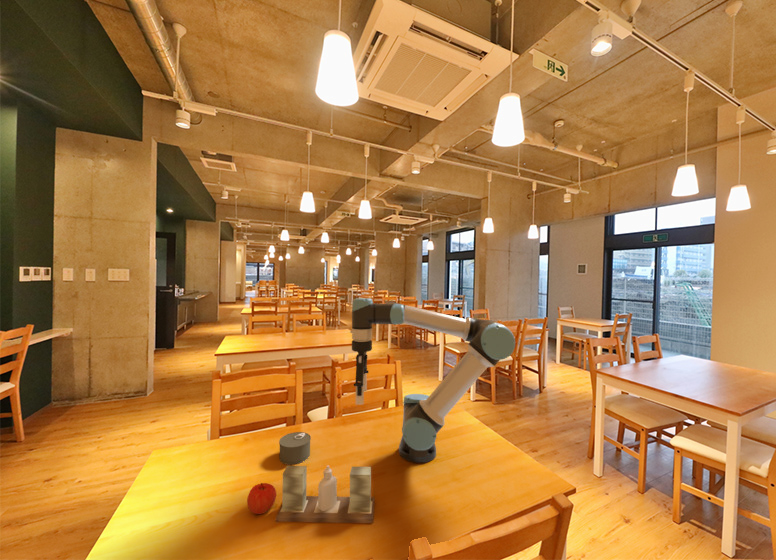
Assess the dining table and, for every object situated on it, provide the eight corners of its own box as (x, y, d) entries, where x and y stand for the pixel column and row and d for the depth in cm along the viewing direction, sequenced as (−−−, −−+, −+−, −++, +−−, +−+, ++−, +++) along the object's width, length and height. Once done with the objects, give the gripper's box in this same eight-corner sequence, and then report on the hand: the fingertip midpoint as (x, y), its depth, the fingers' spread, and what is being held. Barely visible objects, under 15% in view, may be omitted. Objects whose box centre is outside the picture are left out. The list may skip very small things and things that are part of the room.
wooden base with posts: (374, 501, 97) (374, 462, 97) (372, 523, 88) (373, 480, 88) (286, 499, 98) (286, 460, 98) (275, 521, 89) (276, 478, 89)
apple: (241, 519, 89) (242, 491, 90) (255, 499, 97) (255, 474, 98) (268, 520, 89) (269, 492, 89) (279, 501, 97) (280, 475, 97)
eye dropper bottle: (317, 502, 94) (317, 463, 95) (335, 499, 96) (336, 460, 96) (318, 512, 90) (319, 471, 90) (337, 508, 92) (338, 468, 92)
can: (272, 461, 119) (272, 443, 119) (292, 446, 130) (293, 429, 130) (297, 468, 114) (297, 449, 114) (316, 452, 126) (316, 435, 126)
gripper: (355, 334, 127) (355, 385, 127) (347, 346, 102) (346, 410, 102) (373, 334, 127) (373, 386, 127) (369, 346, 102) (369, 410, 102)
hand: (361, 397), depth 114 cm, fingers open, 13 cm apart
